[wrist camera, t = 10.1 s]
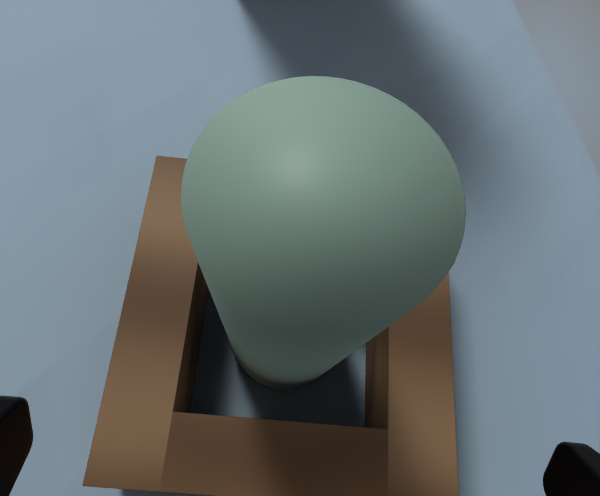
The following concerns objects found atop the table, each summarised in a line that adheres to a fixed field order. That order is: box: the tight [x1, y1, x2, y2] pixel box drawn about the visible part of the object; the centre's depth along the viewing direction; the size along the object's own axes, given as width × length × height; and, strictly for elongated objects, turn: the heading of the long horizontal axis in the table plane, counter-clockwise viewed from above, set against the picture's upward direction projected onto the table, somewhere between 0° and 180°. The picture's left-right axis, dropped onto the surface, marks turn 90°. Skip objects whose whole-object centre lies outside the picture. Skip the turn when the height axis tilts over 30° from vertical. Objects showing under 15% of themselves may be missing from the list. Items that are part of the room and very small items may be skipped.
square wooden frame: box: [83, 156, 459, 496], centre depth 17 cm, size 11×11×4 cm
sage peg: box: [181, 76, 466, 389], centre depth 13 cm, size 4×4×12 cm
